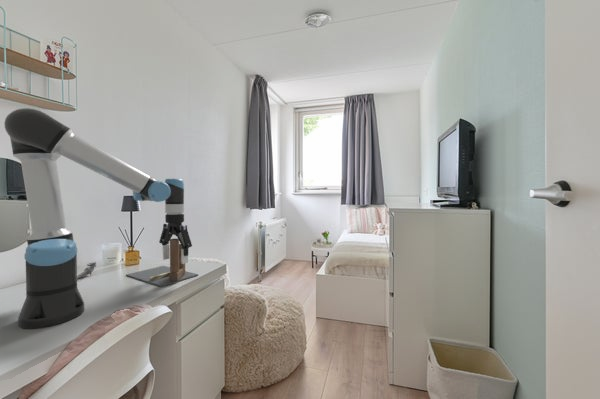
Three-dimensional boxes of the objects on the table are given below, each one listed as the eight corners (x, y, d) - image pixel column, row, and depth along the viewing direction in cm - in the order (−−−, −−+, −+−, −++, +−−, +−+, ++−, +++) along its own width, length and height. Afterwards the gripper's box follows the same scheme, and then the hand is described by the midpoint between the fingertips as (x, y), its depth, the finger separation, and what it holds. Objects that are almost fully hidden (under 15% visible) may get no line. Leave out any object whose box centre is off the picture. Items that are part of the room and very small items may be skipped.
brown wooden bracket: (185, 273, 126) (185, 235, 126) (177, 281, 115) (177, 239, 115) (177, 274, 126) (177, 235, 125) (168, 281, 115) (168, 239, 115)
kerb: (151, 281, 116) (151, 277, 116) (149, 280, 116) (149, 277, 116) (184, 271, 129) (184, 268, 129) (182, 271, 130) (182, 268, 130)
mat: (161, 287, 110) (161, 285, 110) (126, 275, 125) (126, 274, 125) (198, 275, 126) (198, 274, 125) (163, 266, 140) (163, 265, 140)
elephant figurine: (68, 278, 121) (86, 266, 130) (79, 287, 122) (97, 274, 131) (76, 267, 118) (94, 255, 126) (88, 275, 118) (105, 263, 127)
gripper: (200, 214, 116) (200, 263, 116) (166, 211, 129) (166, 255, 129) (184, 215, 109) (185, 267, 110) (150, 212, 123) (151, 259, 123)
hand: (175, 261), depth 120 cm, fingers open, 13 cm apart
